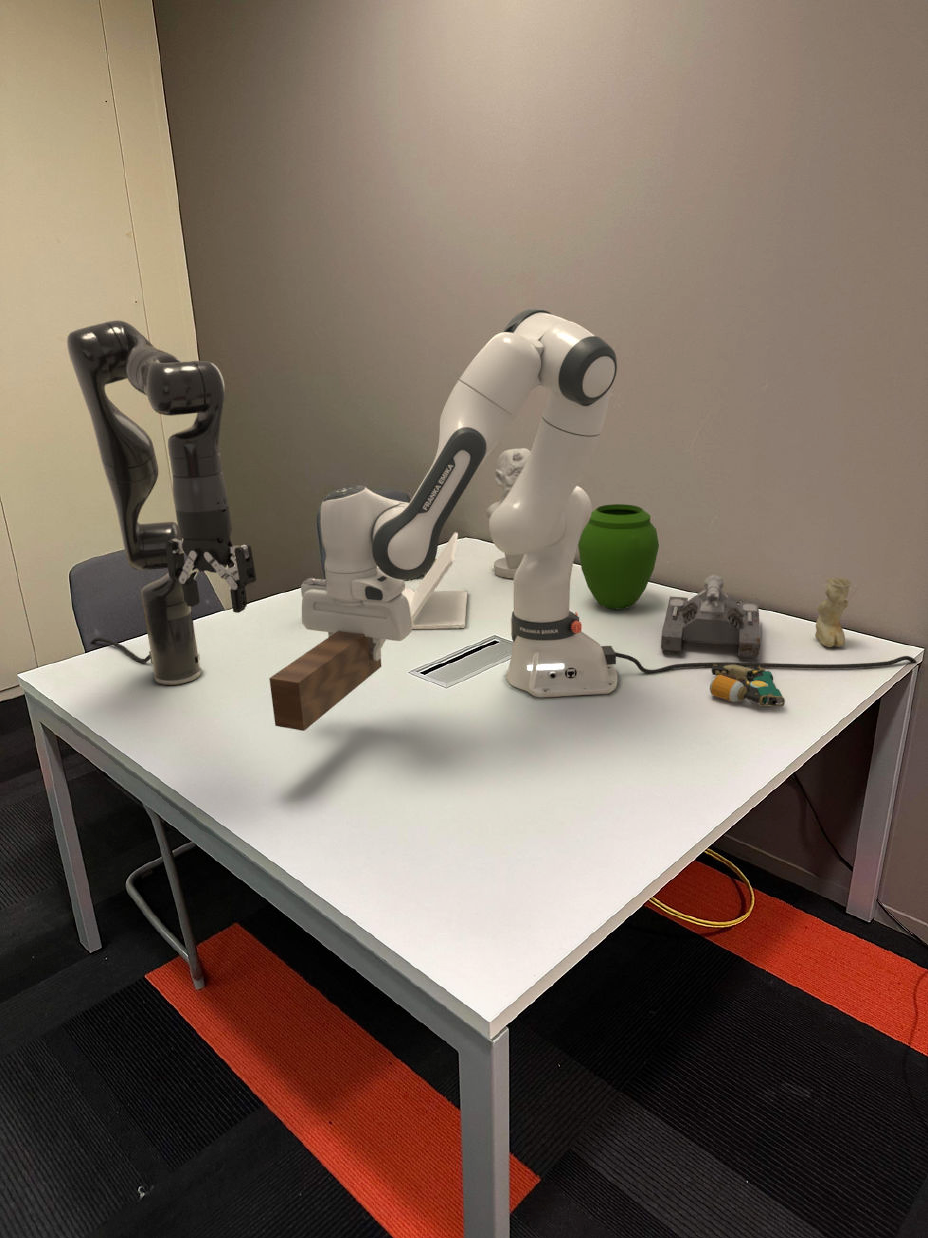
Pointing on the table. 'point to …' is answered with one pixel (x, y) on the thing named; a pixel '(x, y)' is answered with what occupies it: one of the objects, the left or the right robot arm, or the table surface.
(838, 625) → the sculpture
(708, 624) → the toy
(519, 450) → the bust sculpture
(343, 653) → the bar
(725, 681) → the spray gun
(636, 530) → the vase
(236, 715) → the table surface
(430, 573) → the tablet stand
